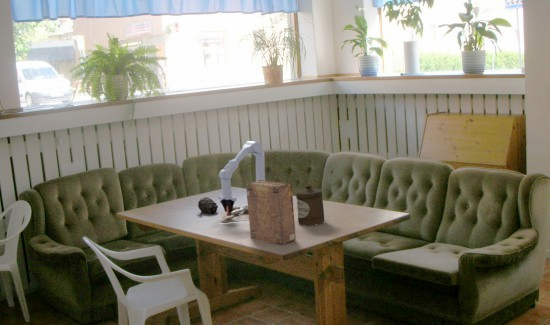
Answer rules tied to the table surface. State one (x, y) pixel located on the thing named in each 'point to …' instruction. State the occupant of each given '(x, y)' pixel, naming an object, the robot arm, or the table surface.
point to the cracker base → (235, 216)
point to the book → (271, 211)
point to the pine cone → (207, 206)
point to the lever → (244, 208)
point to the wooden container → (310, 206)
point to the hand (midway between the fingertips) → (228, 211)
